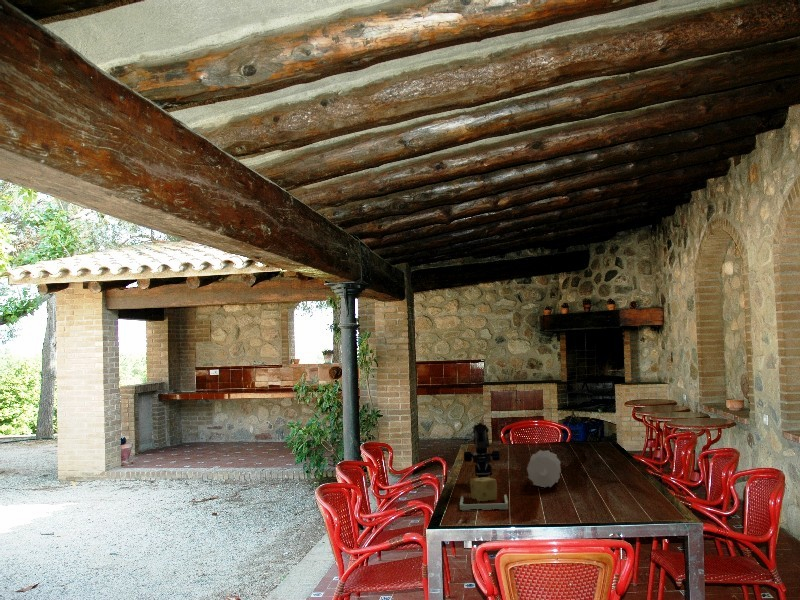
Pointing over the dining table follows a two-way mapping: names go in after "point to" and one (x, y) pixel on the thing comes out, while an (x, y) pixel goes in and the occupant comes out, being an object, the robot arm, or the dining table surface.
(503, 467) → the dining table surface
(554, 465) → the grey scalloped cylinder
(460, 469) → the dining table surface
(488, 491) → the cheese
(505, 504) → the grey u-shaped frame
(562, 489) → the dining table surface
